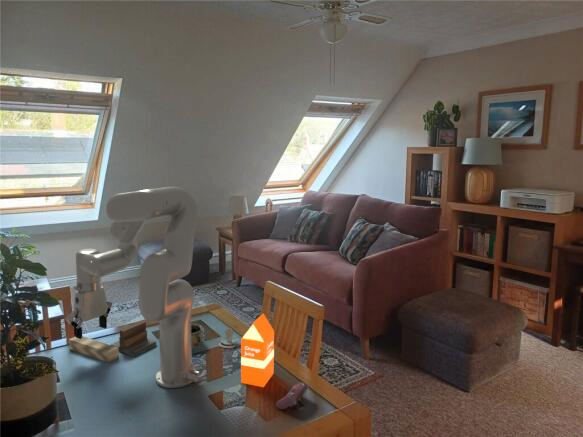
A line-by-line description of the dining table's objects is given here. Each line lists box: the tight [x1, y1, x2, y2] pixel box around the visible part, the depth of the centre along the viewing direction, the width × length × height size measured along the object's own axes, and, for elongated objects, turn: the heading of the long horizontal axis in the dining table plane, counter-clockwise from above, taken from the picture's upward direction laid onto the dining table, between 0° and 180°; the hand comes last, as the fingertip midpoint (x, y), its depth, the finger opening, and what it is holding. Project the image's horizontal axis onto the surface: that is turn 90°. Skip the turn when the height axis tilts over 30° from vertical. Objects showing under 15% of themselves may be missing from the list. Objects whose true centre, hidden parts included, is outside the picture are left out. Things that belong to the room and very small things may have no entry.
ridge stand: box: [110, 320, 157, 357], centre depth 157 cm, size 12×10×8 cm
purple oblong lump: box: [275, 381, 309, 410], centre depth 125 cm, size 10×5×7 cm, turn 148°
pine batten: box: [68, 335, 120, 364], centre depth 152 cm, size 20×4×4 cm, turn 63°
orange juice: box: [240, 313, 275, 388], centre depth 137 cm, size 8×9×20 cm
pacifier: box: [218, 327, 240, 349], centre depth 160 cm, size 7×6×6 cm
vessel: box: [191, 323, 203, 350], centre depth 160 cm, size 12×9×6 cm
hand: (91, 332), depth 151 cm, fingers open, 9 cm apart
